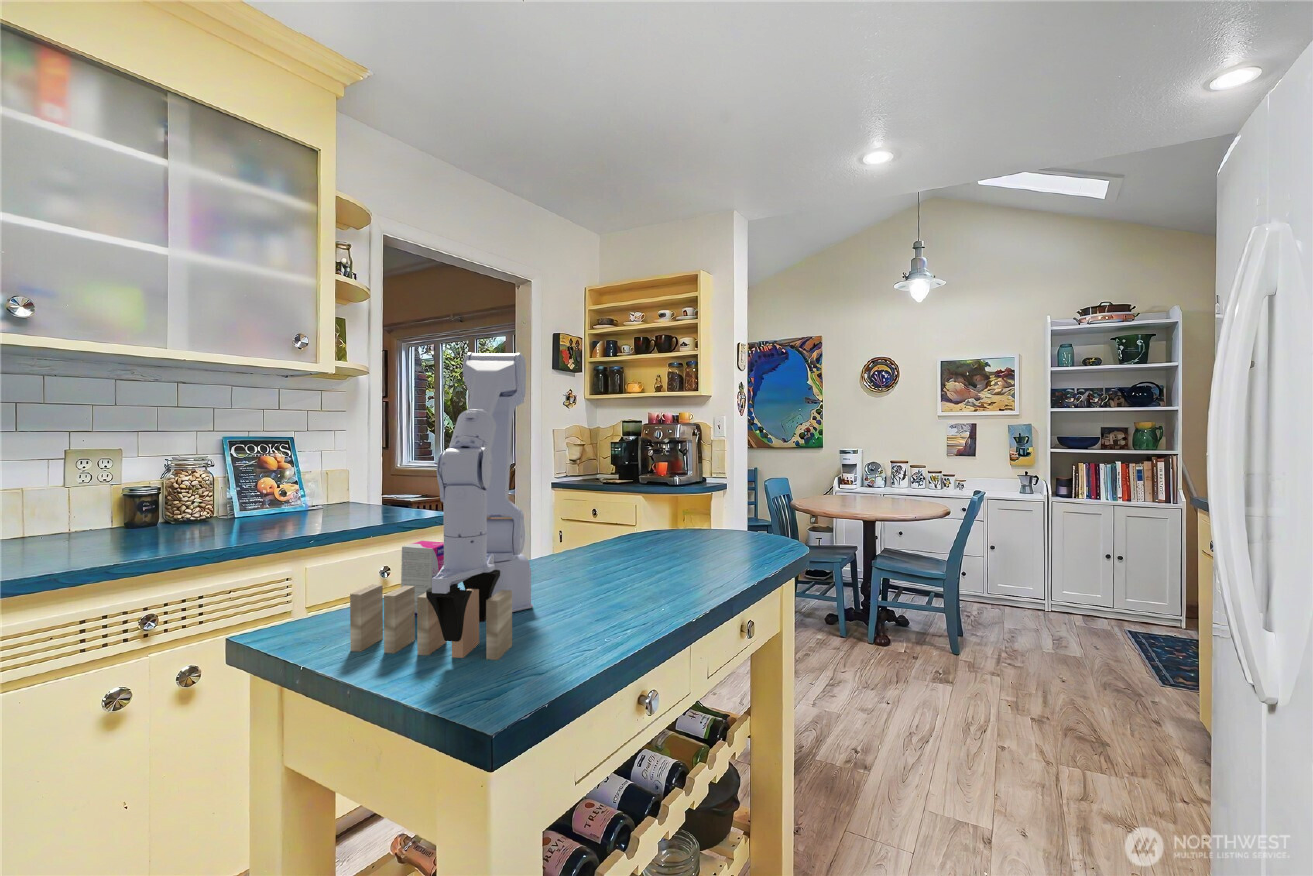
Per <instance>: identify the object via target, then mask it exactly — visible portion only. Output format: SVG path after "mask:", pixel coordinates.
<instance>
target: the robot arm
mask: <svg viewBox="0 0 1313 876" xmlns="http://www.w3.org/2000/svg"><path fill="white" fill-rule="evenodd" d="M462 377H463V381H464V384H465V386H466V388H467V392H468V394H469V399H468V405H467V410H465V411H462V412H461V413H460V414H459V415H458V417H457V419H456V423H455V426H454V429H453V433H452V436H451V438H450V439H451V440H450V443H449V446H448V447H447V449H445V451H441V452H440V453H439V455H438V457H437V464H436V480H437V483H438V487H439V498H440V502H442V503H443V504H442V505H443V542H444V566H443V567H442V568H441V570H440V571H439V573H438V574H437V575H436V576H435V577H433V578H432V587H431V588H429V589H427V590H426V598H427V599H428V600H429V602H430V603H431V605H432V606H433V608H434V610H435V612H436V614H437V617H438V620H439V623H440V627H441V631H442V634H443V638H444V641H447V642H452V641H454V642H458V641H460V640H461V637H462V633H463V624H464V615H465V609H466V606H467V602H468V600H469V597H470V595H471V593H472V591H471V590H467V589H479V623H485V622H486V600H488V599H489V598H491V597H492V596H493V595H495V594H496V593H498V592H499V591H501V590H510V591H512V613H515V612H519V611H523V610H529V609H532V608H534V604H533V603H532V570H531V569H532V568H531V565H530V561H529V559H528V557H527V556H526V555H525V554H523V551H524V549H525V542H526V538H525V537H526V531H525V530H526V529H525V515H524V513H523V510H522V508H520V507H519V506H518V505H517V504H515V503H514V502H512V501H511V500H510V499H509V495H510V494H509V493H510V473H511V472H510V471H511V470H510V469H511V452H512V450H511V449H512V427H513V426H512V425H513V417H514V413H515V409H516V407H518V406H520V405H522V404H523V403H524V402H525V397H526V389H527V388H526V386H527V385H526V384H527V383H526V382H527V364H526V359H525V356H524V355H523V353H521V352H516V353H501V352H500V353H495V352H494V353H493V352H491V353H489V352H488V353H482V352H481V353H479V352H477V353H475V352H469V351H468V352H467V354H466V355H465V356H464V358H463V362H462ZM460 583H462V584H463V587H464V589H461V587H459V584H460Z"/></svg>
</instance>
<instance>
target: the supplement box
mask: <svg viewBox="0 0 1313 876" xmlns="http://www.w3.org/2000/svg"><path fill="white" fill-rule="evenodd" d="M400 566H401V568H400V570H401V571H400V574H401V577H400V588H401V587H403V586H415V617H417V597H418V596H420V595H422V594H424V593H426V590H427V589H429V588H431V587H432V578H433V577H435V576H436V575H437V574H438V573H439V571H440V570H441V568H442V567H443V566H444V541H429V540H419V541H417V542H413V543H409V544H406V545H403V546H401V565H400Z"/></svg>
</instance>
